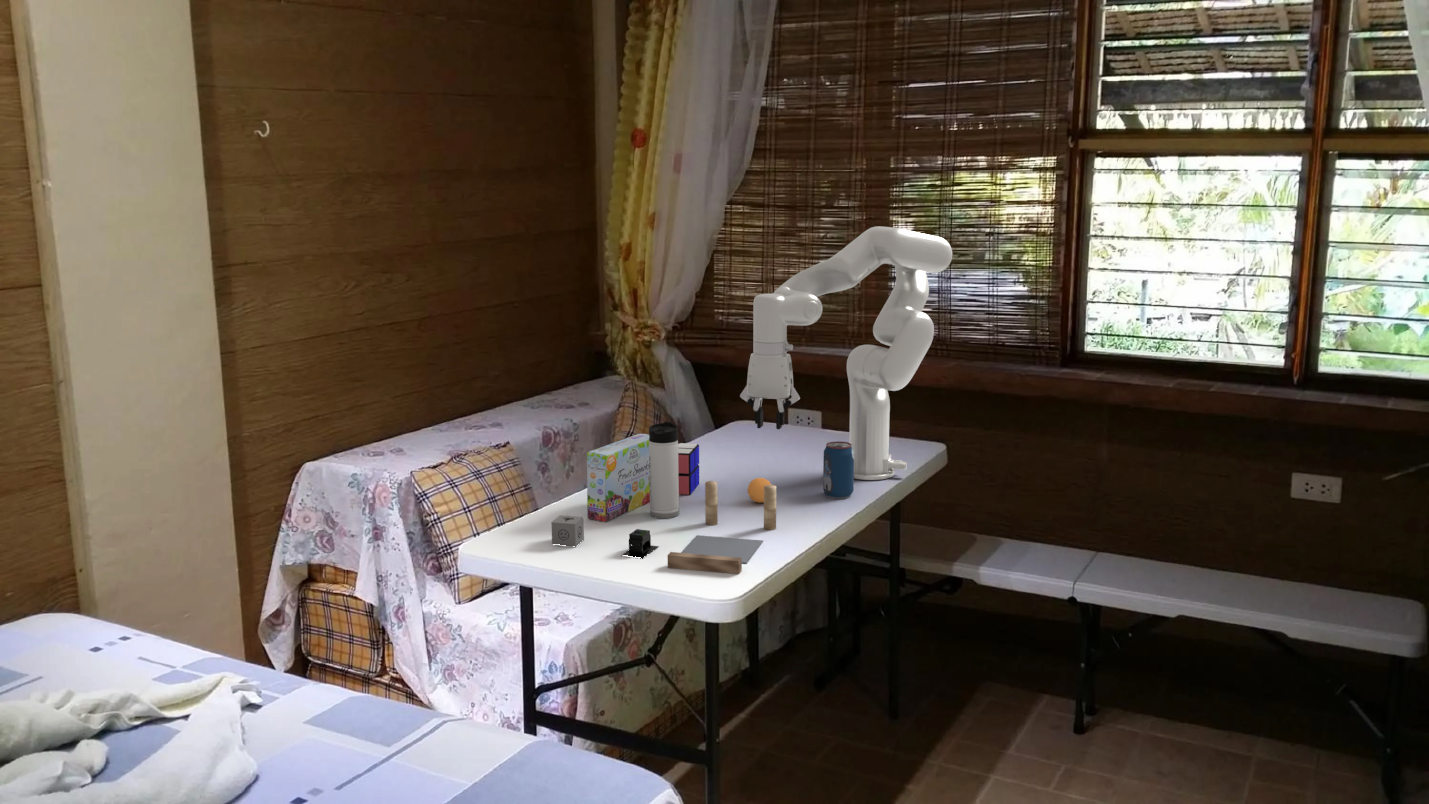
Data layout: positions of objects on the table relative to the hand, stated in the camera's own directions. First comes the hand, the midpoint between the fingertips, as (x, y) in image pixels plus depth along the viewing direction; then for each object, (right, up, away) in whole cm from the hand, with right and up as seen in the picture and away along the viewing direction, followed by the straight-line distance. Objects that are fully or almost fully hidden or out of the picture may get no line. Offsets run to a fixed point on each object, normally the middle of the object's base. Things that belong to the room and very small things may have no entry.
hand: (769, 426), depth 284 cm
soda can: (+16, -16, 0) cm, 22 cm away
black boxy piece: (-27, -25, -38) cm, 53 cm away
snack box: (-33, -18, -10) cm, 39 cm away
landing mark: (-11, -24, -38) cm, 46 cm away
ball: (-2, -14, -6) cm, 16 cm away
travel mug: (-23, -19, -14) cm, 33 cm away
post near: (-1, -21, -24) cm, 32 cm away
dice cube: (-42, -23, -33) cm, 58 cm away
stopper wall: (-15, -26, -49) cm, 58 cm away
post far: (-13, -20, -21) cm, 32 cm away
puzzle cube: (-22, -15, +6) cm, 27 cm away
